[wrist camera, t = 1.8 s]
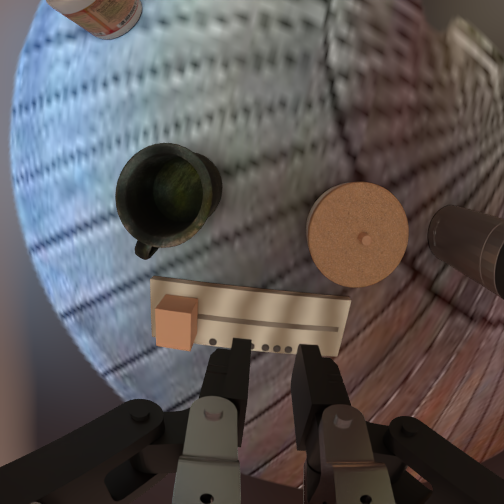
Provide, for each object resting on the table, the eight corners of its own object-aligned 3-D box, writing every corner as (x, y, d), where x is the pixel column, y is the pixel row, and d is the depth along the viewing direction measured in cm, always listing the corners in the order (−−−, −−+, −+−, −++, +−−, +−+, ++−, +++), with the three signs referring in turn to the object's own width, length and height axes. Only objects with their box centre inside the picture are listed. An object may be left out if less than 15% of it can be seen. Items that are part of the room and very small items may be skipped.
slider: (198, 298, 45) (190, 313, 40) (196, 333, 47) (190, 351, 42) (165, 294, 45) (155, 308, 40) (165, 329, 47) (156, 345, 42)
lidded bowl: (339, 282, 46) (360, 314, 35) (280, 223, 44) (286, 241, 33) (398, 223, 43) (434, 240, 32) (343, 160, 41) (368, 158, 30)
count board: (348, 296, 46) (351, 301, 44) (335, 351, 49) (337, 356, 47) (153, 275, 46) (149, 279, 45) (154, 332, 49) (151, 337, 47)
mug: (240, 171, 42) (231, 171, 30) (192, 260, 45) (170, 291, 34) (173, 136, 41) (141, 126, 29) (130, 225, 44) (91, 244, 33)
